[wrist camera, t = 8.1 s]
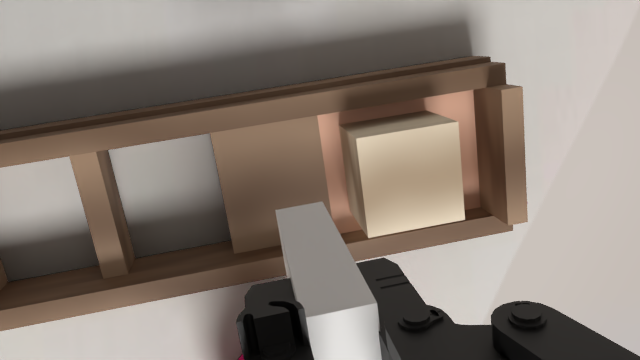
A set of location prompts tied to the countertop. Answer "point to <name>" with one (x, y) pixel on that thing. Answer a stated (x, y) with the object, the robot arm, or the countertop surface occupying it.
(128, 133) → the channel
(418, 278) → the countertop surface
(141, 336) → the countertop surface
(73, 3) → the countertop surface
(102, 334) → the countertop surface
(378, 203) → the birch block
